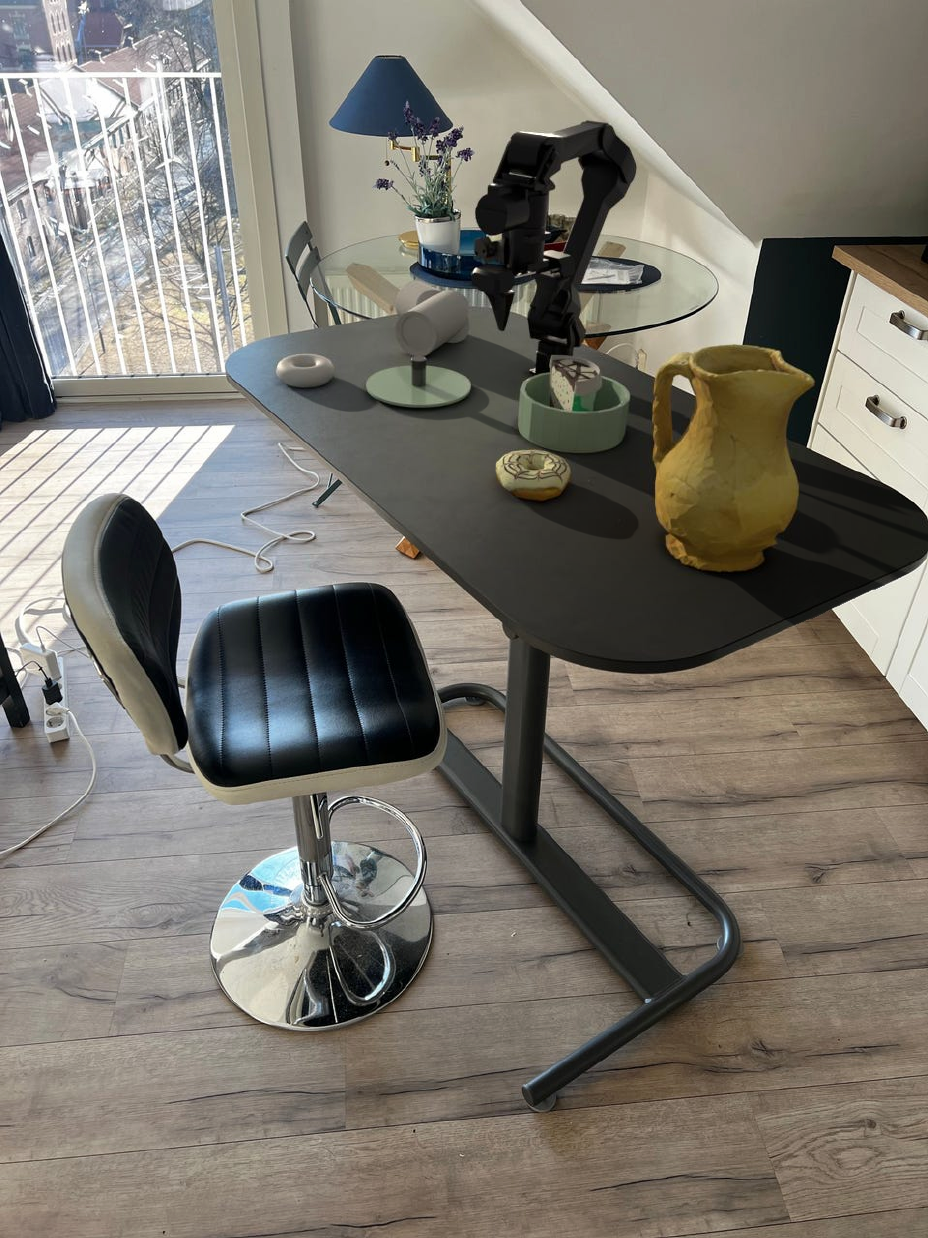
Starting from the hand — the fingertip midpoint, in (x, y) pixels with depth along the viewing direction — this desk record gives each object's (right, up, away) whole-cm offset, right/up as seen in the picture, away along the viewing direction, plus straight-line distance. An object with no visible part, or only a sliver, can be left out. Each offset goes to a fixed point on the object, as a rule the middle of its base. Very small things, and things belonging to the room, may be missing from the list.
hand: (520, 324), depth 151 cm
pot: (+8, -18, -4) cm, 20 cm away
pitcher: (+23, -39, -32) cm, 55 cm away
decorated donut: (0, -30, -20) cm, 36 cm away
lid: (-17, -9, +7) cm, 20 cm away
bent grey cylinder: (-17, +6, +28) cm, 33 cm away
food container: (+8, -18, -5) cm, 21 cm away
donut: (-37, -7, +9) cm, 39 cm away
